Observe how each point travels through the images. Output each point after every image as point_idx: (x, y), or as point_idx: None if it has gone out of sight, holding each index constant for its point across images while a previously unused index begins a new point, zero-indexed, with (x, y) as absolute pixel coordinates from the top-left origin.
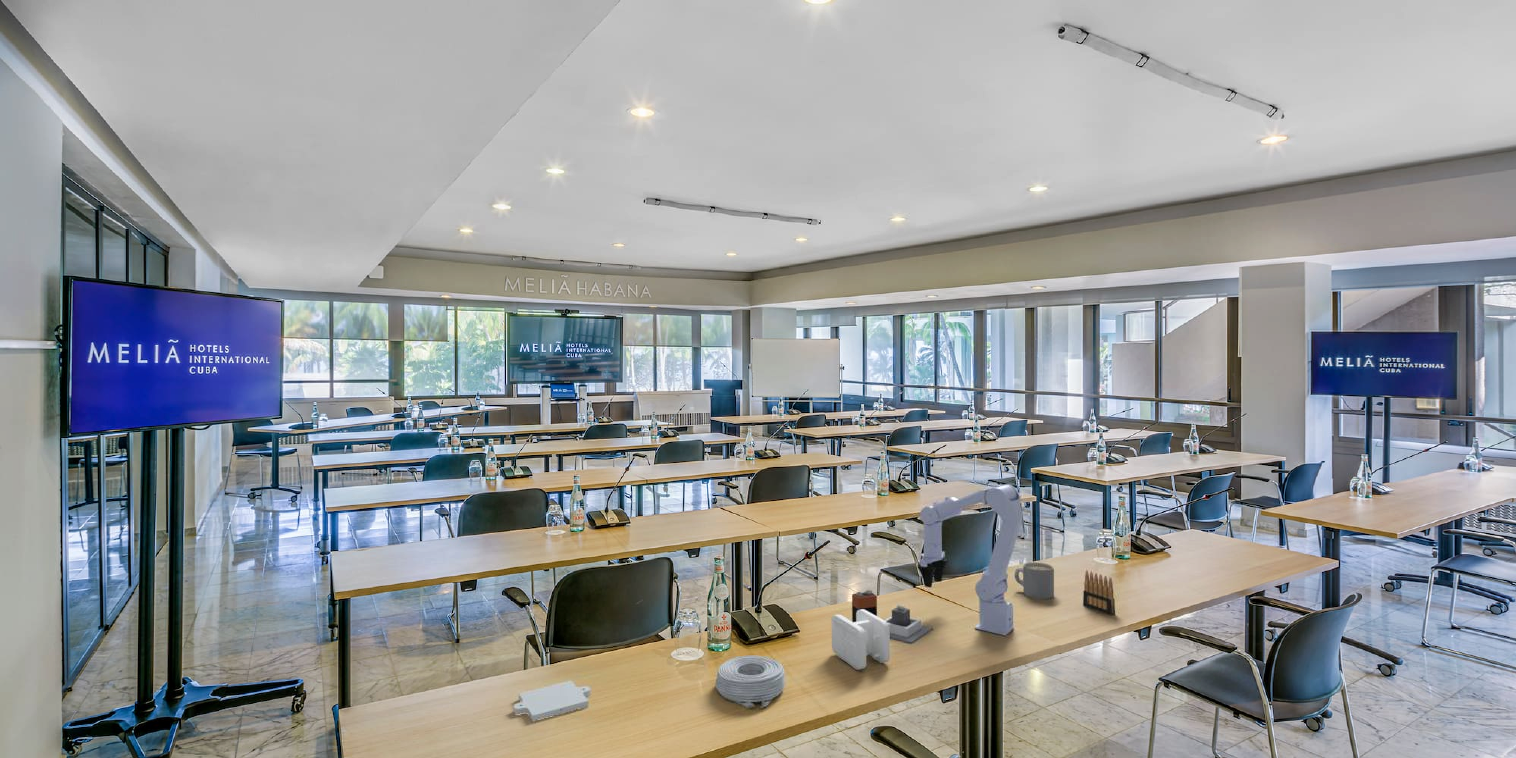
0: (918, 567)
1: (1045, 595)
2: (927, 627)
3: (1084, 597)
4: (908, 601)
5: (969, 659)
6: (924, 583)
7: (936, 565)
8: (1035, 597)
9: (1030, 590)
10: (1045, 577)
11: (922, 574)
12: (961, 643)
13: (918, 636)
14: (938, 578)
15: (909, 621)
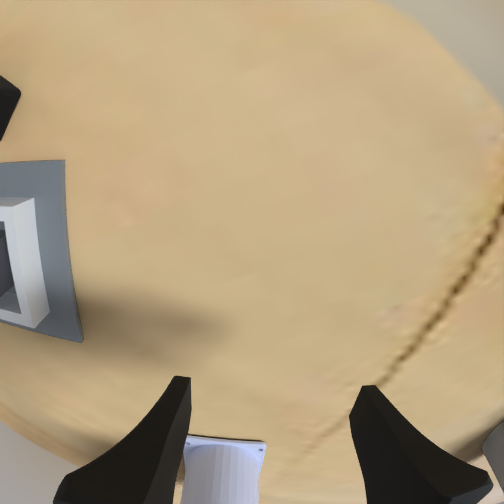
0: (61, 482)
1: (484, 454)
2: (71, 328)
3: None
4: (376, 127)
5: (20, 422)
6: (165, 392)
7: (395, 492)
8: (487, 439)
9: (499, 441)
10: (499, 483)
11: (123, 446)
12: (65, 412)
13: (2, 320)
14: (358, 422)
15: (2, 292)
